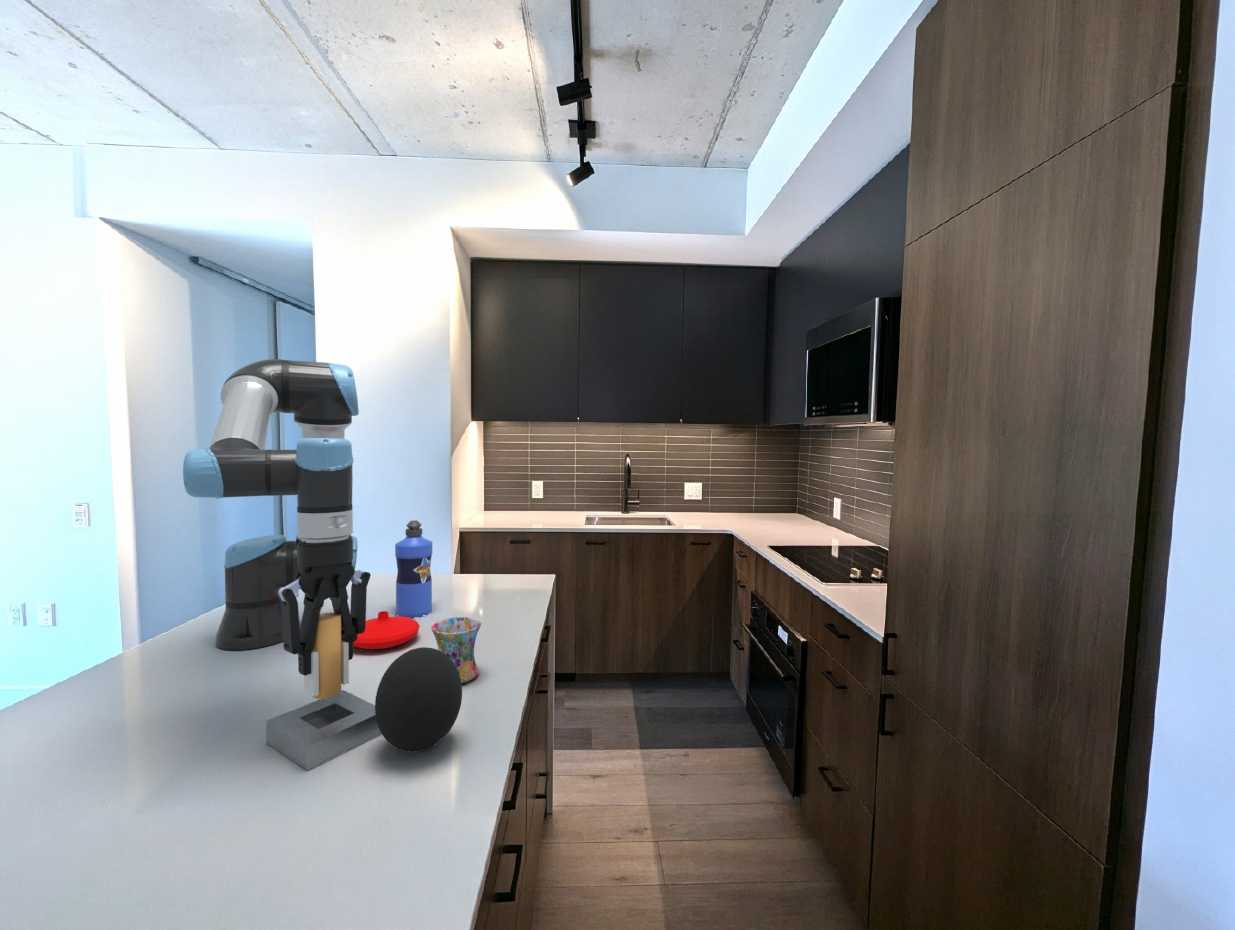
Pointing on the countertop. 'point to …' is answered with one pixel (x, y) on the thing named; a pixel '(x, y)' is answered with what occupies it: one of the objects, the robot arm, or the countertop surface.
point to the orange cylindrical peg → (329, 654)
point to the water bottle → (413, 573)
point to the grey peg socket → (323, 729)
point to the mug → (458, 643)
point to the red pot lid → (386, 631)
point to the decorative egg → (418, 699)
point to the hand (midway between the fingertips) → (327, 687)
